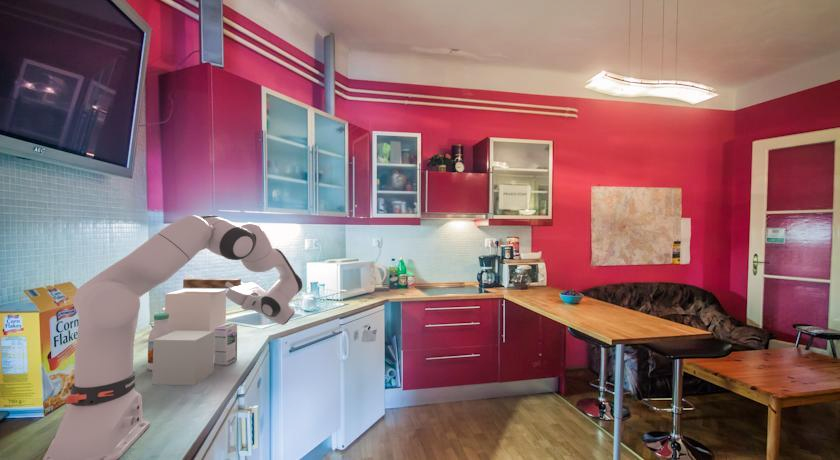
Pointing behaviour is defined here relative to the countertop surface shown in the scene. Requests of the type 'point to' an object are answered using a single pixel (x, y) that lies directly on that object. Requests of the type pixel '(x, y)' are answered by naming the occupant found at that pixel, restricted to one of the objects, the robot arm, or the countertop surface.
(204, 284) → the walnut rail
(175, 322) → the white box
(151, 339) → the milk bottle
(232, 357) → the syrup box
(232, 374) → the countertop surface
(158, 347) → the box
